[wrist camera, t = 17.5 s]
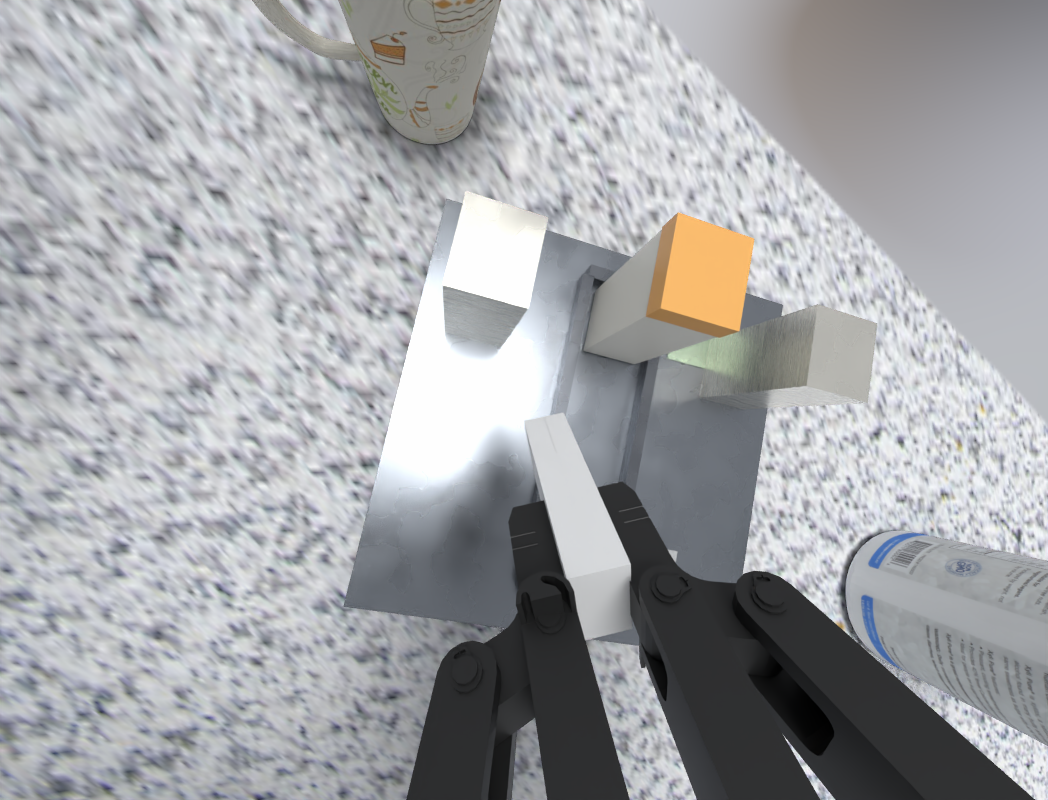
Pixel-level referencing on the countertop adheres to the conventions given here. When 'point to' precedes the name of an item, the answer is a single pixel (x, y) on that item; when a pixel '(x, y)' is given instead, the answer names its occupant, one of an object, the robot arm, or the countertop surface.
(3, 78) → the countertop surface
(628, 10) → the countertop surface
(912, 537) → the supplement tub
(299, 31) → the mug
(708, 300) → the handle
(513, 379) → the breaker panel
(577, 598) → the robot arm
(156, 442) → the countertop surface
